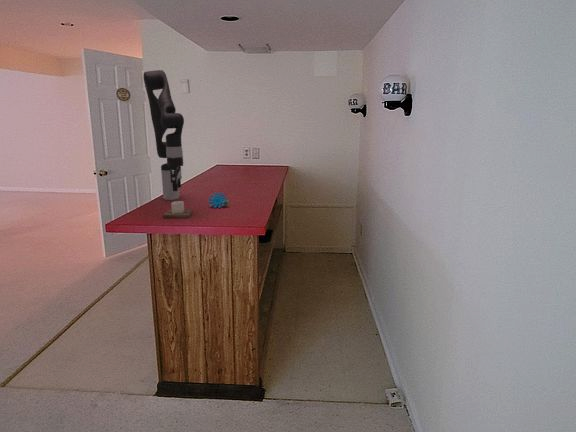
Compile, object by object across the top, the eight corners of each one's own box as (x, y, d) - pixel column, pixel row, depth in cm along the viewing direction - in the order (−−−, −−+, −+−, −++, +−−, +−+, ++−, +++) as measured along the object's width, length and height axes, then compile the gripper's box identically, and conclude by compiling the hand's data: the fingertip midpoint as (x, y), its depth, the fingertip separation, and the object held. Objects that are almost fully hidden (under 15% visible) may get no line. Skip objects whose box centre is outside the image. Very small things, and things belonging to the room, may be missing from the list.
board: (168, 212, 208) (168, 203, 207) (192, 212, 209) (192, 203, 208) (163, 218, 197) (162, 208, 195) (188, 217, 197) (188, 208, 196)
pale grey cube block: (174, 211, 205) (173, 201, 204) (184, 211, 205) (183, 201, 204) (171, 213, 200) (171, 203, 199) (182, 213, 200) (181, 203, 199)
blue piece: (205, 205, 217) (211, 190, 222) (207, 211, 222) (213, 196, 227) (225, 209, 215) (230, 193, 220) (227, 214, 221) (232, 199, 225)
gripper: (169, 154, 202) (172, 186, 206) (163, 157, 189) (166, 192, 193) (185, 154, 203) (187, 186, 207) (179, 157, 189) (182, 192, 193)
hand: (177, 189), depth 200 cm, fingers open, 8 cm apart
